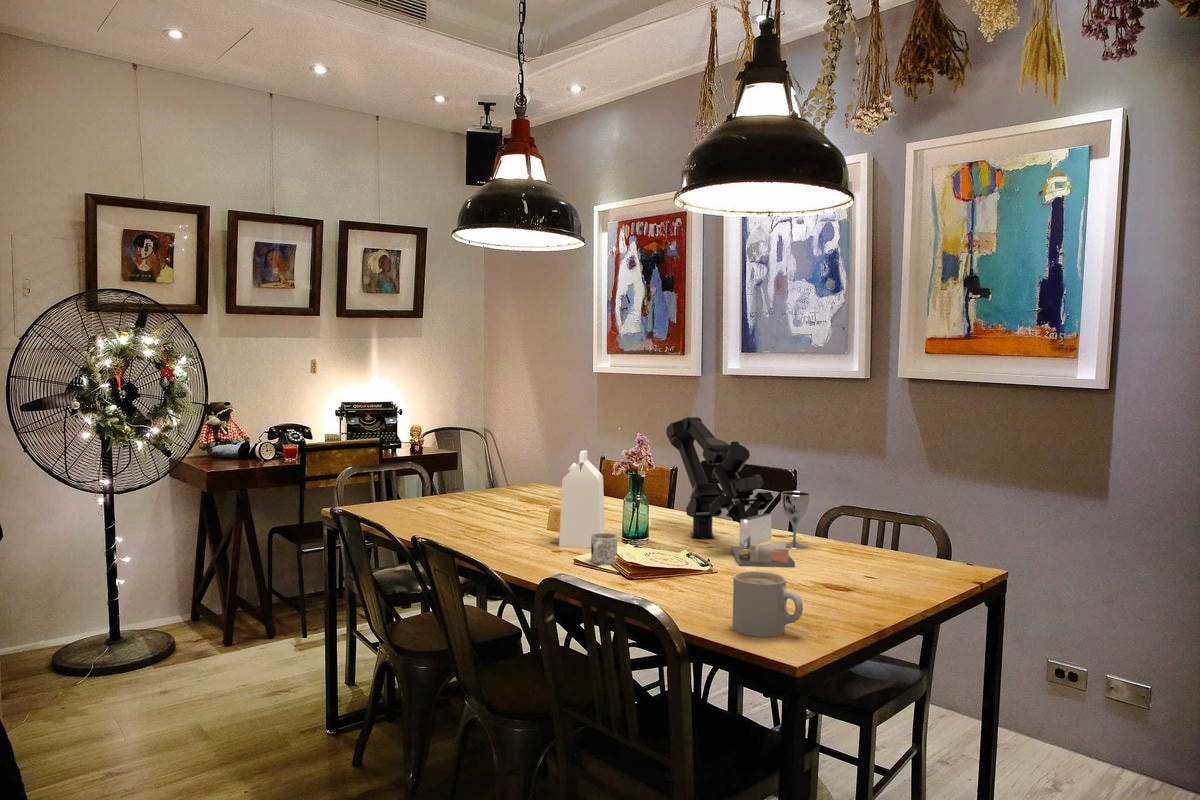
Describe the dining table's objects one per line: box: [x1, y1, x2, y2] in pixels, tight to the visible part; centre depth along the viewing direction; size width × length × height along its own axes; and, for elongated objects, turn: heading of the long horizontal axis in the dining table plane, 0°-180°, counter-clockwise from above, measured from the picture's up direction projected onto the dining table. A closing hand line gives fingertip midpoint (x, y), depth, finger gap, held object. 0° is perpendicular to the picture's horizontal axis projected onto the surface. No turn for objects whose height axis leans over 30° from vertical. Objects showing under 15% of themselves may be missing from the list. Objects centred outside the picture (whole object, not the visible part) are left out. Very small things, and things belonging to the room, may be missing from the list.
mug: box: [590, 532, 618, 566], centre depth 209 cm, size 10×7×7 cm, turn 159°
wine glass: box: [780, 490, 811, 550], centre depth 232 cm, size 8×8×15 cm
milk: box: [558, 450, 606, 549], centre depth 232 cm, size 12×12×26 cm
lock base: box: [730, 542, 796, 568], centre depth 216 cm, size 17×14×4 cm
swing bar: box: [739, 513, 773, 548], centre depth 216 cm, size 13×3×7 cm, turn 138°
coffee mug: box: [732, 570, 804, 638], centre depth 157 cm, size 13×10×10 cm
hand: (755, 529), depth 219 cm, fingers closed
